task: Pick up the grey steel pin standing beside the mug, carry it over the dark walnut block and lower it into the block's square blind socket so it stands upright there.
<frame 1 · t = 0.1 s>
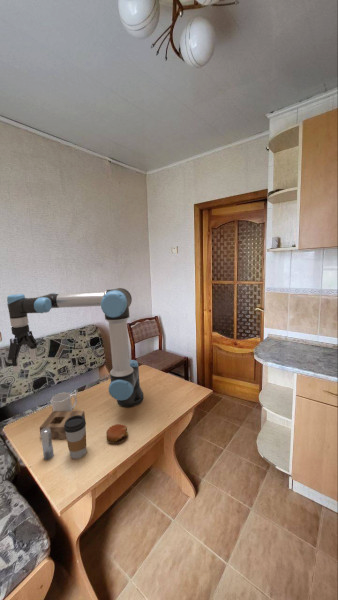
hand: (25, 365, 126), 28 cm above the table, fingers open, 13 cm apart
burger: (117, 438, 111), on the table
socket block: (64, 430, 118), on the table
mug: (66, 415, 130), on the table
coffee cup: (78, 453, 103), on the table
pin: (48, 456, 102), on the table
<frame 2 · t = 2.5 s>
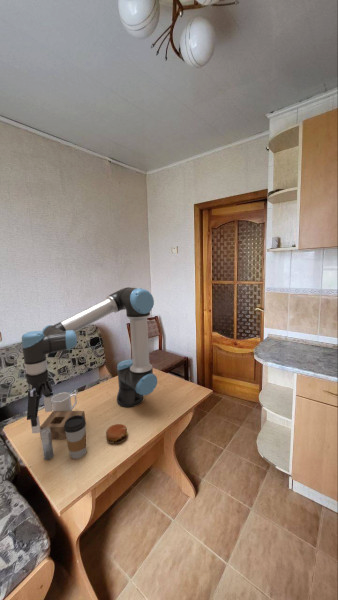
hand: (43, 421, 99), 16 cm above the table, fingers open, 13 cm apart
nothing on the table moved.
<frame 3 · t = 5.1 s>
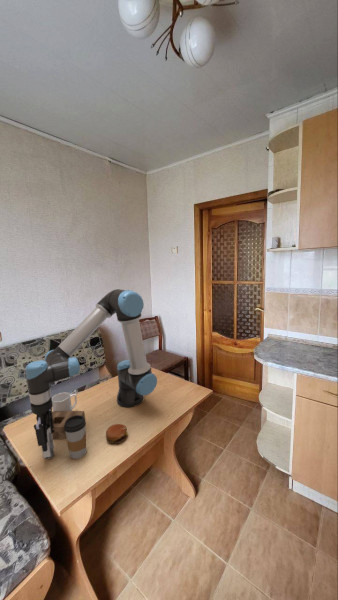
hand: (48, 452, 102), 2 cm above the table, fingers closed on pin, 3 cm apart
pin: (49, 455, 102), on the table, touching gripper
everything else where it was.
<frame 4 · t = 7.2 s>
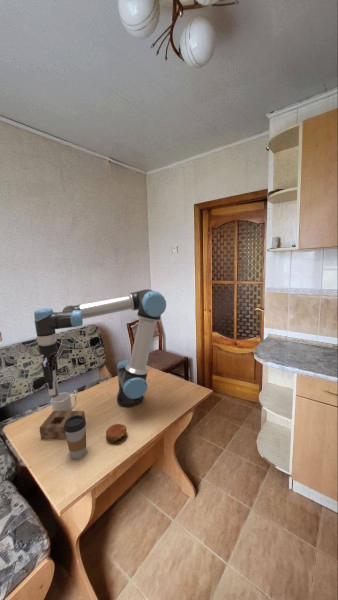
hand: (53, 392, 114), 20 cm above the table, fingers closed on pin, 3 cm apart
pin: (54, 395, 114), point 19 cm above the table, touching gripper
everything else where it was.
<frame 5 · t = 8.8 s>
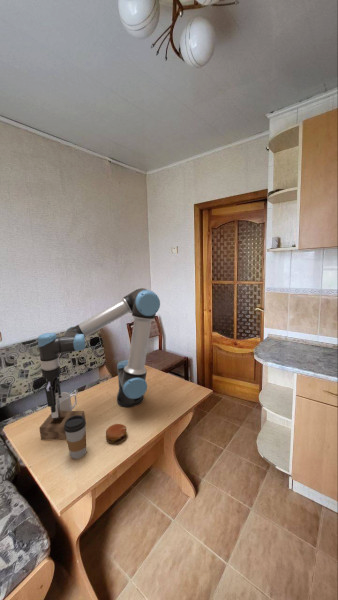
hand: (56, 414, 115), 9 cm above the table, fingers closed on pin, 3 cm apart
pin: (56, 417, 116), point 7 cm above the table, touching gripper
everything else where it was.
when the fingers open (7 cm above the table, at t = 9.8 s): pin drops 2 cm, resting on socket block.
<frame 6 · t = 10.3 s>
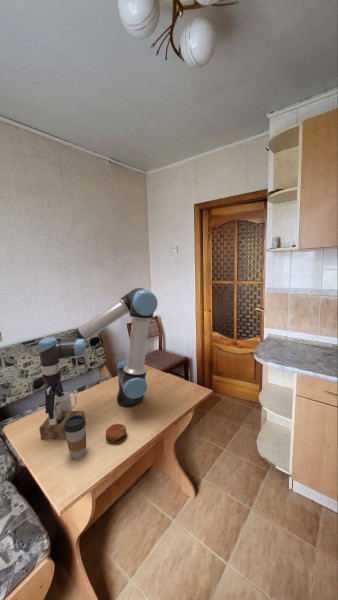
hand: (57, 416, 116), 8 cm above the table, fingers open, 11 cm apart
pin: (58, 427, 117), point 2 cm above the table, touching socket block
everything else where it was.
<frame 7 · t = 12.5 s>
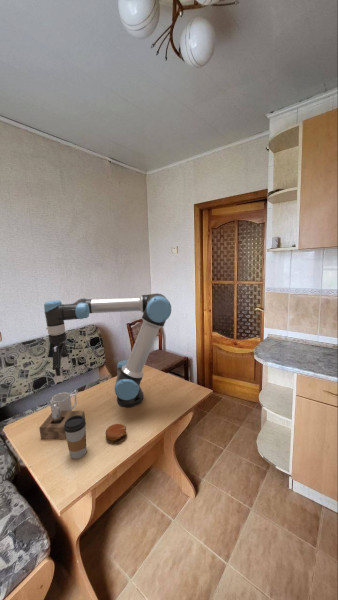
hand: (63, 375, 121), 25 cm above the table, fingers open, 13 cm apart
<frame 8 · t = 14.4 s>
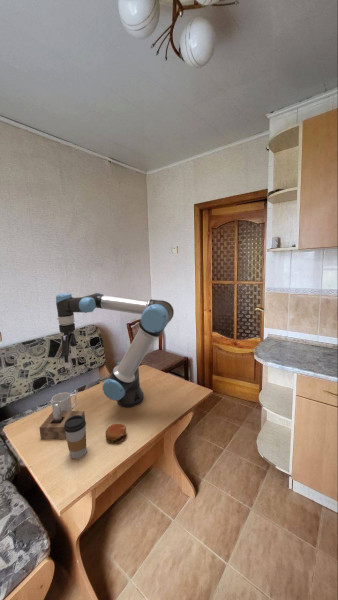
hand: (71, 362, 130), 27 cm above the table, fingers open, 13 cm apart
nothing on the table moved.
at the end: pin 0.1 cm from the target spot on the socket block, point 2.2 cm above the socket block's base; pin tilted 2°; the gripper is holding nothing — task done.
